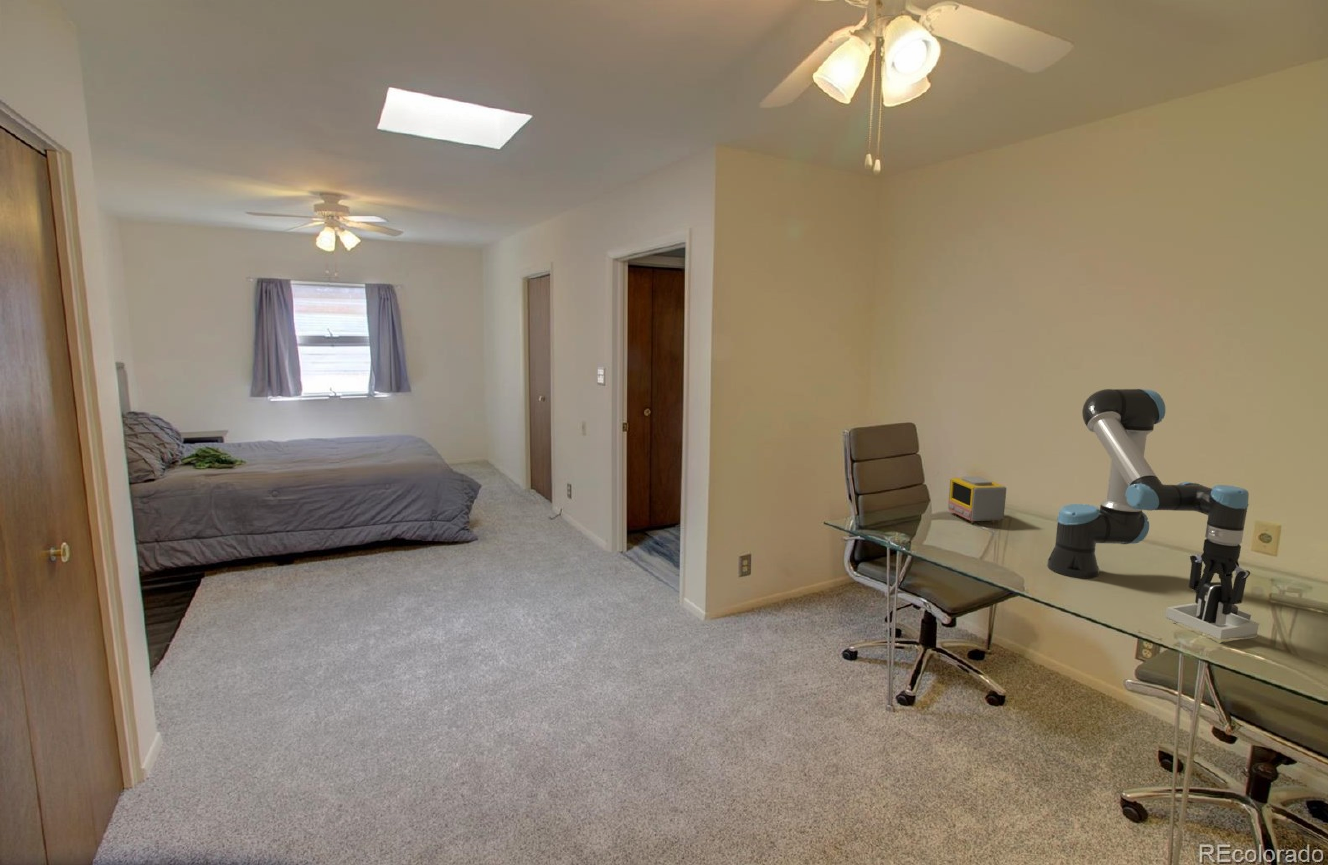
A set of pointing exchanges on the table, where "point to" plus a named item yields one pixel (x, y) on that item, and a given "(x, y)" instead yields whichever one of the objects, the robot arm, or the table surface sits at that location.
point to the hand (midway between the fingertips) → (1210, 619)
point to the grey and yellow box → (977, 499)
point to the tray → (1231, 629)
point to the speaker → (1239, 612)
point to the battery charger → (1210, 601)
